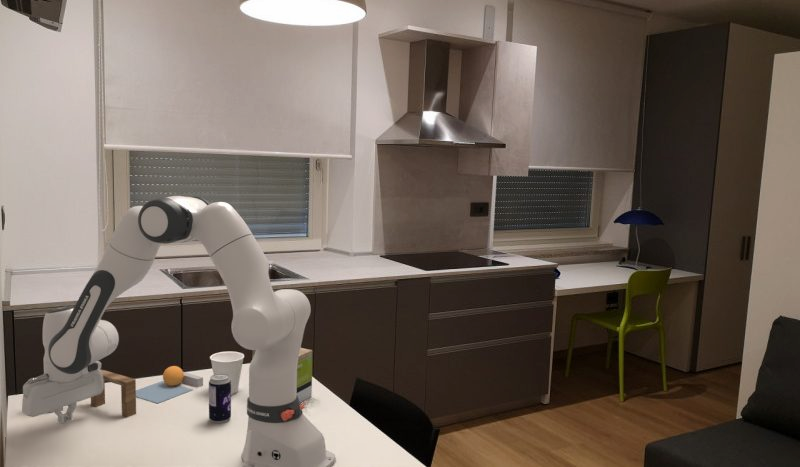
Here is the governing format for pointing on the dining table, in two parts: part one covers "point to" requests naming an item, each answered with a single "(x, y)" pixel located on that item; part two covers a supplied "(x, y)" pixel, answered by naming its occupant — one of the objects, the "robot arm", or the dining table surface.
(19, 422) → the dining table surface
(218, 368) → the cup
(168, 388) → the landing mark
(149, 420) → the dining table surface
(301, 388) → the tea box
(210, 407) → the beverage can
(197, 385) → the grey rectangular bar
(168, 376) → the ball
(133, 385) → the bridge
